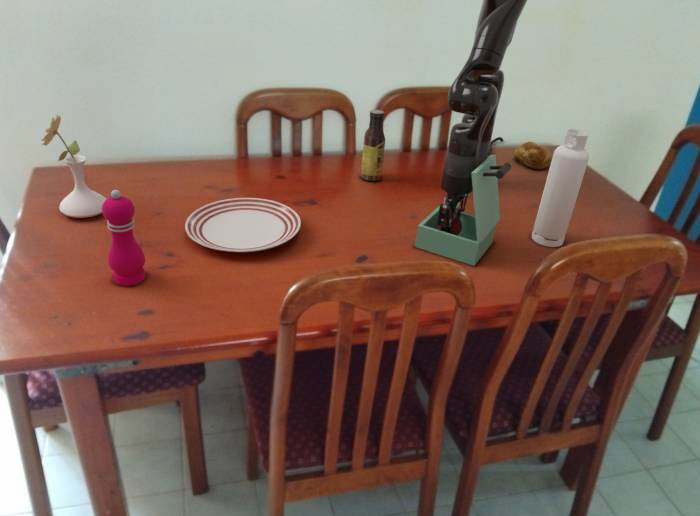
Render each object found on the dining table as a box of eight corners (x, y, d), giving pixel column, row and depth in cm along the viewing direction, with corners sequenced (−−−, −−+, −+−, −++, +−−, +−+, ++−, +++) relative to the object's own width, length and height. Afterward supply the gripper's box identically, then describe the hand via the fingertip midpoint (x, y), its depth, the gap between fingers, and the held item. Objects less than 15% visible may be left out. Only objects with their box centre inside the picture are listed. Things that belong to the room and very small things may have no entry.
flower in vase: (82, 198, 155) (62, 101, 141) (119, 207, 153) (103, 109, 139) (45, 219, 145) (20, 116, 131) (84, 229, 142) (63, 125, 128)
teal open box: (414, 247, 146) (418, 225, 143) (436, 226, 156) (439, 205, 153) (474, 266, 141) (479, 243, 137) (492, 242, 151) (497, 221, 148)
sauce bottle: (379, 183, 177) (386, 116, 166) (358, 180, 178) (364, 113, 166) (382, 175, 182) (389, 109, 171) (362, 172, 183) (368, 107, 172)
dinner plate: (204, 271, 130) (203, 258, 129) (173, 217, 150) (172, 205, 148) (319, 249, 142) (319, 237, 140) (276, 202, 162) (276, 190, 160)
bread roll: (506, 158, 202) (511, 135, 197) (528, 155, 206) (533, 132, 201) (532, 173, 192) (538, 149, 188) (554, 169, 197) (561, 145, 192)
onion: (461, 237, 150) (467, 208, 146) (455, 247, 146) (461, 217, 141) (439, 231, 152) (444, 203, 147) (432, 241, 147) (437, 211, 143)
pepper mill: (116, 268, 129) (100, 181, 118) (150, 269, 130) (138, 183, 118) (107, 287, 123) (90, 197, 112) (144, 287, 124) (130, 198, 112)
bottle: (524, 236, 155) (552, 130, 139) (544, 229, 159) (573, 125, 144) (550, 250, 150) (582, 141, 134) (569, 242, 154) (602, 135, 138)
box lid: (471, 172, 130) (497, 172, 127) (491, 154, 140) (515, 153, 137) (477, 241, 137) (501, 242, 134) (495, 219, 147) (518, 219, 145)
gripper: (464, 184, 132) (452, 250, 141) (485, 164, 143) (472, 228, 152) (433, 175, 135) (423, 241, 144) (455, 157, 145) (444, 220, 155)
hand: (448, 234), depth 148 cm, fingers closed on onion, 6 cm apart
